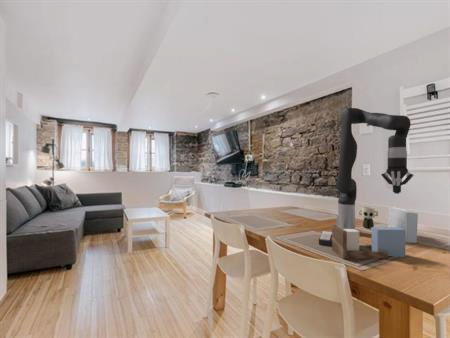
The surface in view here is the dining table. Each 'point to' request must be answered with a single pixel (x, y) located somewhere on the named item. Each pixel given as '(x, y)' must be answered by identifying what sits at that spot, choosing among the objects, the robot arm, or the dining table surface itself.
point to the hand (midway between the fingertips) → (396, 193)
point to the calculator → (325, 238)
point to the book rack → (341, 249)
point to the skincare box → (404, 222)
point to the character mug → (368, 216)
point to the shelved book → (352, 240)
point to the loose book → (389, 240)
